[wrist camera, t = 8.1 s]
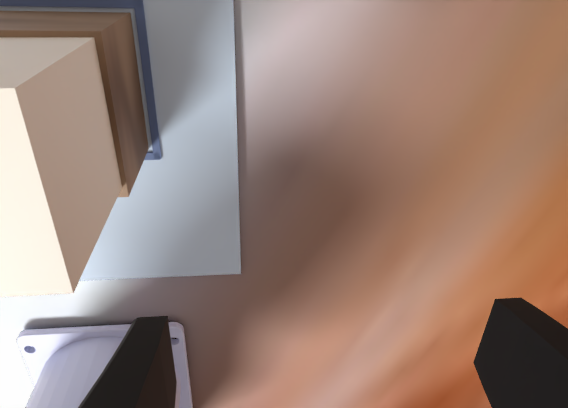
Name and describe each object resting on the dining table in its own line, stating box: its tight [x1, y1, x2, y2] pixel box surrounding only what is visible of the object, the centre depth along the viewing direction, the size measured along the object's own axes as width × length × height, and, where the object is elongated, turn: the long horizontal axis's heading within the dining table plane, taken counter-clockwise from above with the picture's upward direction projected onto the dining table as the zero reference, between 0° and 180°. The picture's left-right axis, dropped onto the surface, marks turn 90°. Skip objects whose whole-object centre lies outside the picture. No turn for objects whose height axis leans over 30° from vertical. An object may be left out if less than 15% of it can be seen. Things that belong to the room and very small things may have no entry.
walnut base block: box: [0, 11, 149, 197], centre depth 14 cm, size 5×5×4 cm
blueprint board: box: [0, 0, 241, 281], centre depth 16 cm, size 18×12×1 cm, turn 178°
